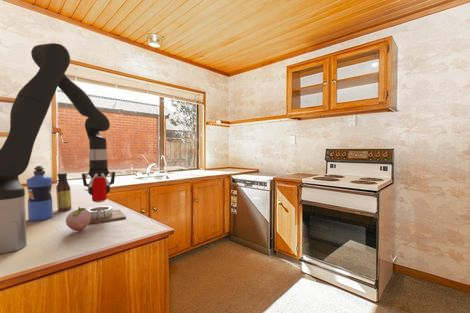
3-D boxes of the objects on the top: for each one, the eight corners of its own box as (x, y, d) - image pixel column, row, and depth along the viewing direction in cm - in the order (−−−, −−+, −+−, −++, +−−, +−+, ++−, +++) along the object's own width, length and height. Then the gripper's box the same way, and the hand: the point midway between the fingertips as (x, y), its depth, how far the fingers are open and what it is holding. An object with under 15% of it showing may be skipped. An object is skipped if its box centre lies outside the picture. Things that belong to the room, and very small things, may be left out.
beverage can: (90, 203, 110) (89, 177, 109) (94, 200, 116) (93, 175, 115) (105, 202, 112) (104, 177, 111) (108, 199, 118) (107, 175, 117)
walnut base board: (126, 218, 113) (125, 216, 113) (75, 226, 102) (75, 224, 102) (119, 211, 126) (119, 209, 126) (74, 217, 115) (74, 215, 115)
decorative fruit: (70, 229, 99) (69, 205, 98) (93, 226, 102) (92, 203, 101) (63, 237, 90) (62, 211, 90) (88, 234, 93) (87, 209, 92)
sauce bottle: (74, 208, 132) (73, 172, 132) (65, 211, 126) (64, 174, 125) (63, 208, 133) (62, 172, 132) (53, 211, 127) (52, 173, 126)
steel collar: (113, 216, 113) (113, 209, 113) (87, 220, 107) (87, 213, 107) (110, 212, 121) (110, 205, 121) (86, 215, 115) (86, 208, 115)
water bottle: (31, 222, 107) (29, 167, 106) (25, 219, 113) (23, 166, 112) (56, 217, 115) (54, 165, 114) (49, 214, 120) (48, 165, 119)
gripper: (80, 159, 106) (81, 197, 106) (116, 158, 114) (117, 193, 115) (79, 159, 112) (81, 194, 113) (114, 158, 120) (114, 191, 121)
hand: (99, 194), depth 114 cm, fingers closed on beverage can, 6 cm apart
